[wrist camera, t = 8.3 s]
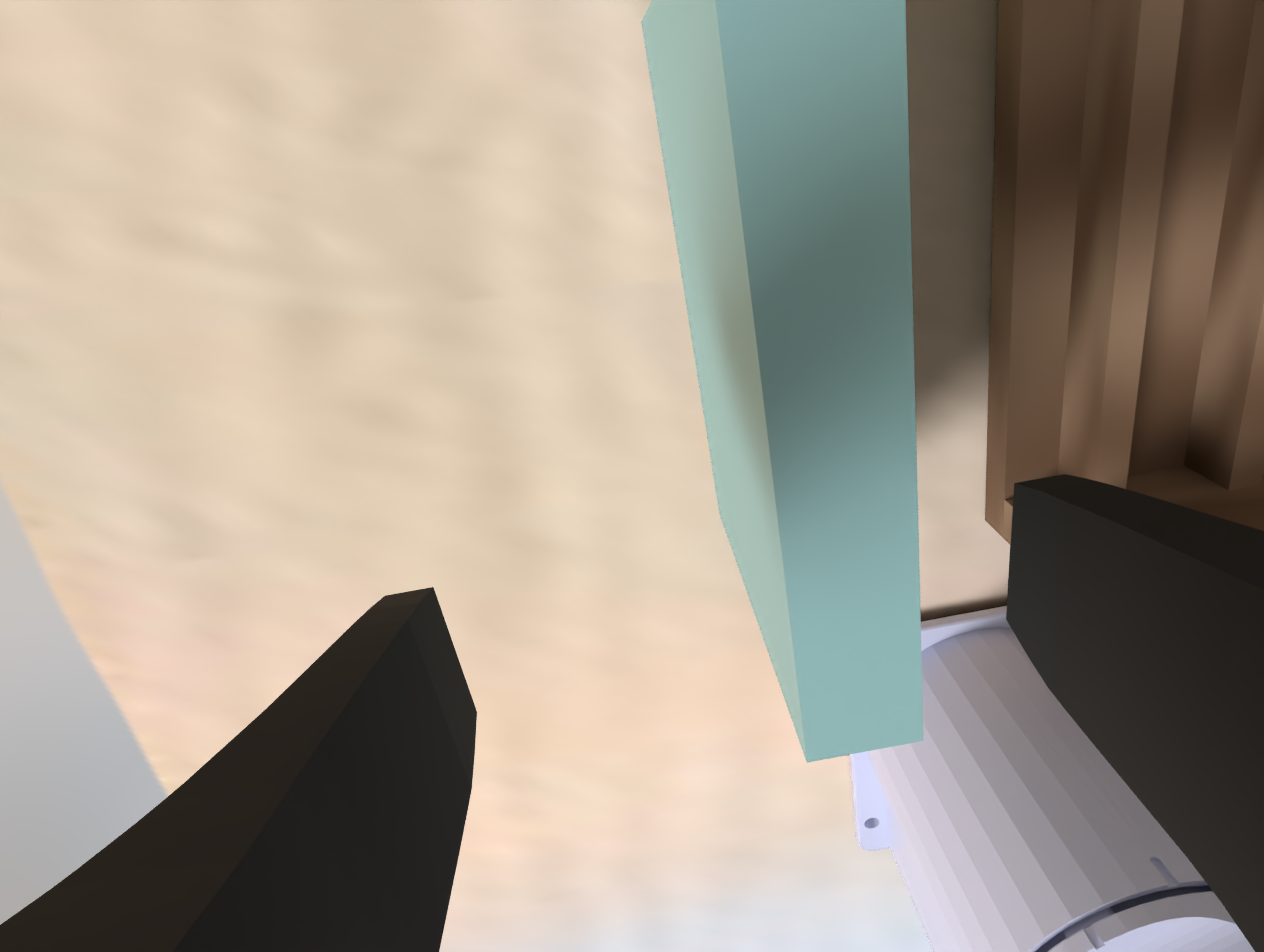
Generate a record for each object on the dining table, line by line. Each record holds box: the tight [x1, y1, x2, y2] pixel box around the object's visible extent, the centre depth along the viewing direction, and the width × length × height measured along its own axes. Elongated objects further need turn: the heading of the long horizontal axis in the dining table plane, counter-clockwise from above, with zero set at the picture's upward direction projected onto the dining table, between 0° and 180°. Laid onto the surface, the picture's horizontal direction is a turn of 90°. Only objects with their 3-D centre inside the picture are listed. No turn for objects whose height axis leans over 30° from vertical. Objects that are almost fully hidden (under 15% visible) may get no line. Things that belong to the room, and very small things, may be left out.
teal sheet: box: [641, 0, 924, 762], centre depth 14 cm, size 12×2×9 cm, turn 11°
